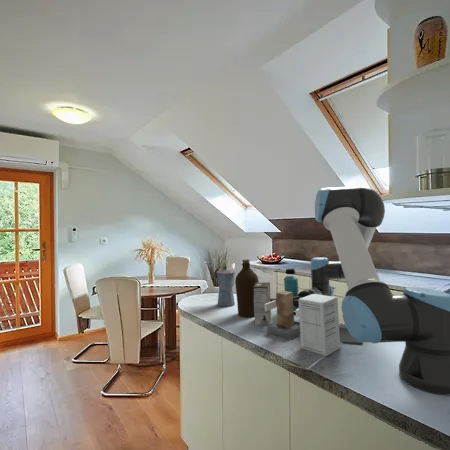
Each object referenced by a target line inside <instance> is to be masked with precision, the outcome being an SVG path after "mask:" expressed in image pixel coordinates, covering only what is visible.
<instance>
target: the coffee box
mask: <svg viewBox="0 0 450 450" xmlns="http://www.w3.org/2000/svg"><path fill="white" fill-rule="evenodd" d="M253 295H254V316H255V317H254V325H255V326H267V325H269V324H271V322H272V309H271V310H269V311H265V304H266V303H269V302H270V299H271V283H270V282H269V281H268V282H259V283H255V285H254V287H253Z"/></svg>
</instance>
